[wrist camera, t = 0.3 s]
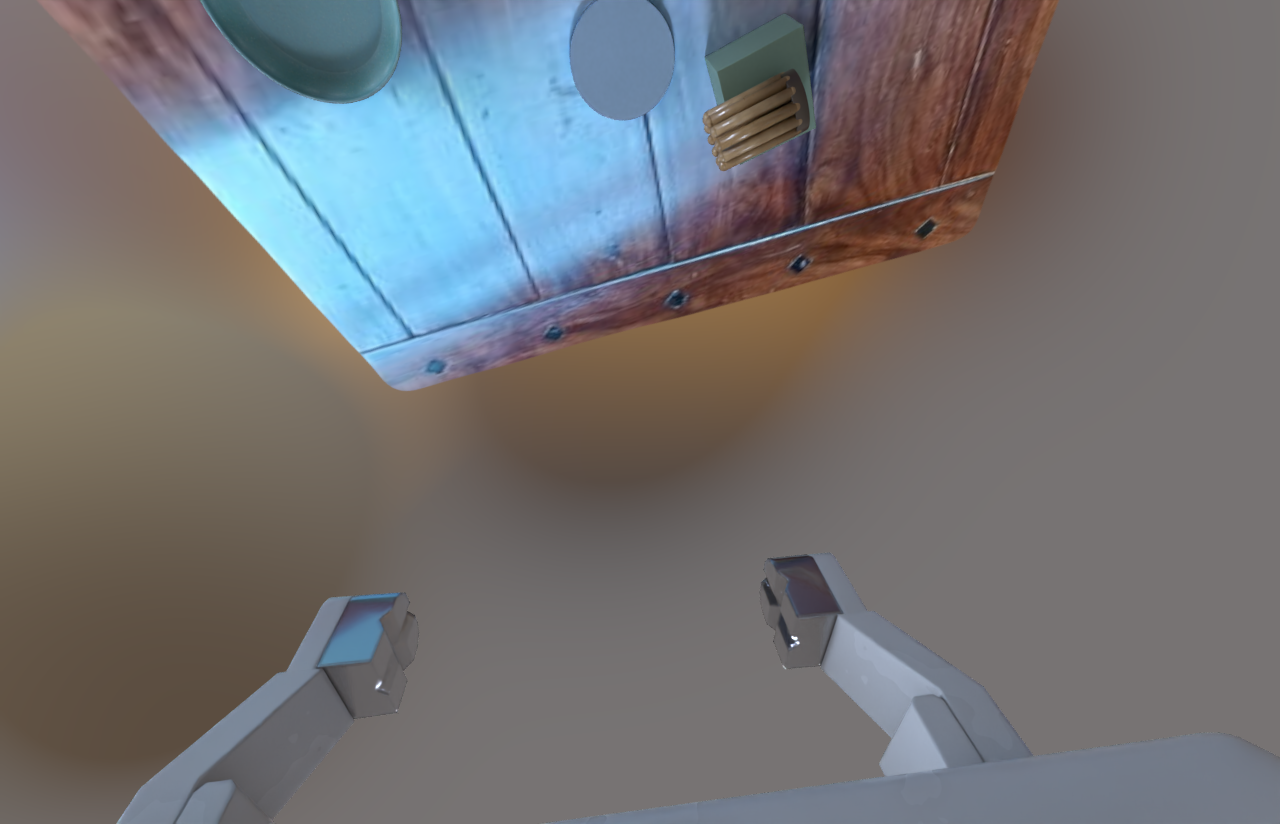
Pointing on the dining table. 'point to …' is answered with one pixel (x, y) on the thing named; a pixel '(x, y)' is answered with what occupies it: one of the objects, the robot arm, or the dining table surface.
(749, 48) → the step
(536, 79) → the dining table surface
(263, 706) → the robot arm
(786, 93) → the bundle of brown rods
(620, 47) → the disc
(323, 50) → the saucer
